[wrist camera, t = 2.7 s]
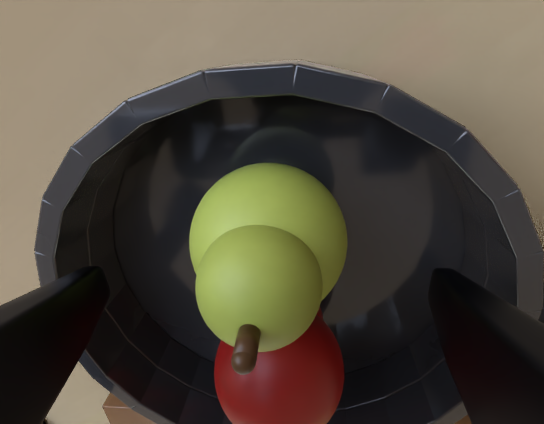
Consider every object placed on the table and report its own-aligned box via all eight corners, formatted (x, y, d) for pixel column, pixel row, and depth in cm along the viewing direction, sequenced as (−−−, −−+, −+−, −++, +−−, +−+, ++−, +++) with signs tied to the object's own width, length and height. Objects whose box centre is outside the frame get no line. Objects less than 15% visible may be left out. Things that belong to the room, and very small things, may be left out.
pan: (152, 371, 19) (115, 448, 16) (51, 76, 12) (-65, 88, 8) (439, 384, 17) (476, 475, 14) (526, 42, 10) (656, 36, 6)
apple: (236, 352, 17) (203, 495, 11) (223, 273, 15) (173, 404, 9) (336, 356, 16) (351, 509, 11) (339, 273, 14) (360, 415, 9)
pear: (223, 256, 14) (148, 439, 8) (205, 145, 12) (77, 263, 5) (337, 256, 14) (366, 454, 7) (341, 140, 11) (389, 265, 5)
